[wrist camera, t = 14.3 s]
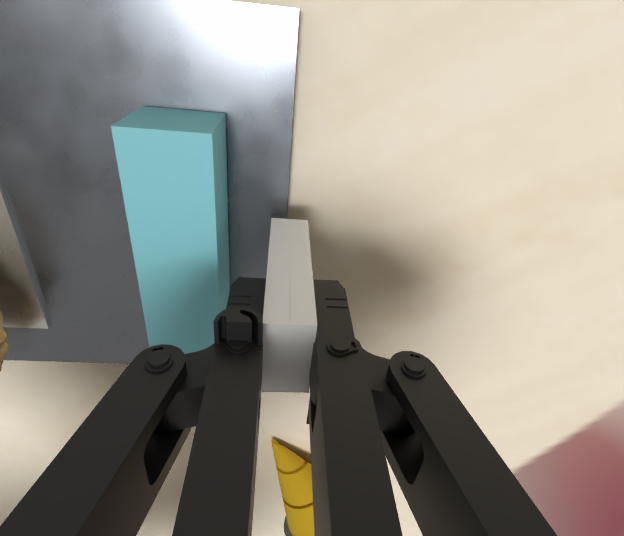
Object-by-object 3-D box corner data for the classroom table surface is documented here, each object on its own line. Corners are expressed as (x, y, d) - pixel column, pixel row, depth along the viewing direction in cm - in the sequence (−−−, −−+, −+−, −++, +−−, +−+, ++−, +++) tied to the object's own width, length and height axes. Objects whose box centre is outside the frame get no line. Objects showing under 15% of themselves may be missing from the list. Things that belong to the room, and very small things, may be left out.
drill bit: (300, 589, 28) (224, 477, 26) (321, 519, 32) (258, 421, 31) (368, 585, 25) (289, 462, 24) (380, 510, 30) (315, 404, 28)
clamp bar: (169, 318, 20) (152, 362, 17) (141, 106, 15) (110, 125, 12) (230, 320, 20) (222, 364, 18) (225, 113, 15) (212, 133, 12)
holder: (-175, 340, 21) (-199, 356, 20) (-493, -77, 12) (-565, -86, 11) (277, 354, 23) (277, 370, 22) (298, 8, 14) (299, 8, 13)
